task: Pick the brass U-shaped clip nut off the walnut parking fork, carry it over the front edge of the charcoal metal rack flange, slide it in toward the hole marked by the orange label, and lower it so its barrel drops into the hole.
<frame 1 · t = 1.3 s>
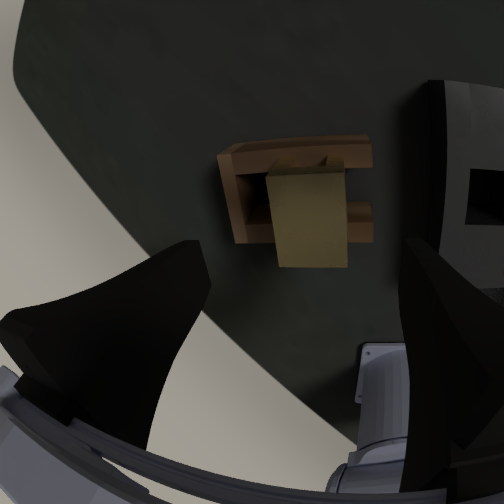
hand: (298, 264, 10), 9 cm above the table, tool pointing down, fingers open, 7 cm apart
clip nut: (315, 198, 15), in the parking fork
parking fork: (320, 179, 18), on the table
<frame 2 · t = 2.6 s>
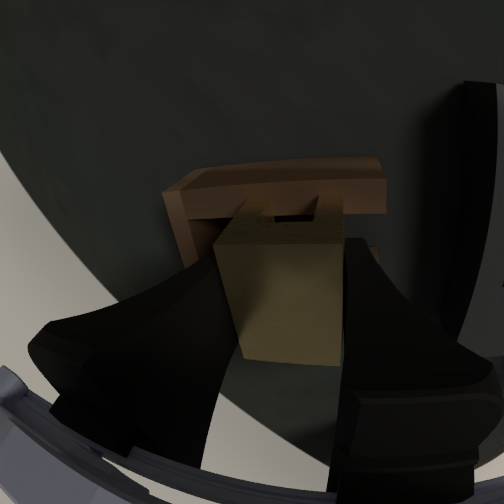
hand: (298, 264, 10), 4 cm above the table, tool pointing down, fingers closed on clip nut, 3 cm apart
clip nut: (300, 256, 11), in the parking fork, touching gripper
parking fork: (310, 217, 13), on the table
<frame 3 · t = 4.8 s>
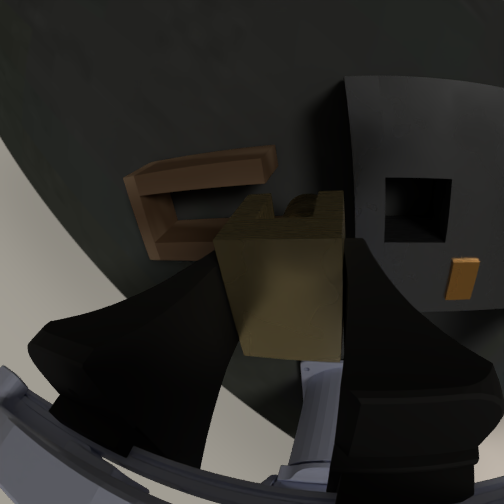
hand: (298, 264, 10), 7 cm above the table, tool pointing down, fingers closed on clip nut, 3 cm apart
rack: (491, 192, 13), on the table
clip nut: (300, 252, 11), point 7 cm above the table, touching gripper
parking fork: (231, 194, 18), on the table
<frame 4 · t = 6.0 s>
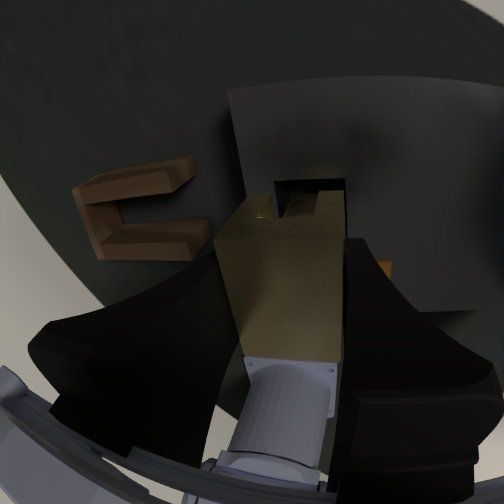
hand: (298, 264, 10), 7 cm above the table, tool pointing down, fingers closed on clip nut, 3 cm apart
rack: (415, 189, 15), on the table
clip nut: (300, 252, 11), point 7 cm above the table, touching gripper
parking fork: (162, 201, 19), on the table
when the fingers open (5 cm above the table, at t = 7.1 s): clip nut stays where it is, resting on rack.
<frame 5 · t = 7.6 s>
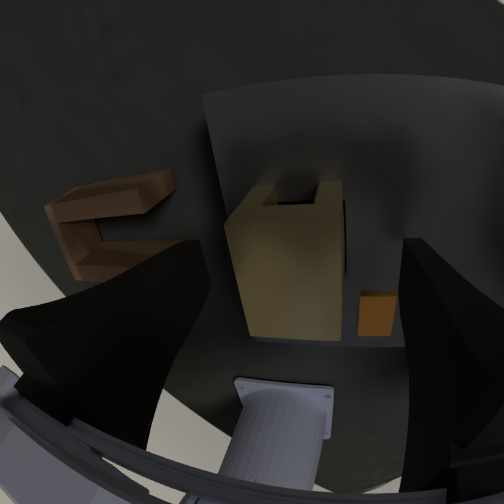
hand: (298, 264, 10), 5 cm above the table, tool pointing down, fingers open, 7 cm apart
rack: (426, 208, 12), on the table
clip nut: (302, 240, 12), resting on rack
parking fork: (140, 218, 17), on the table
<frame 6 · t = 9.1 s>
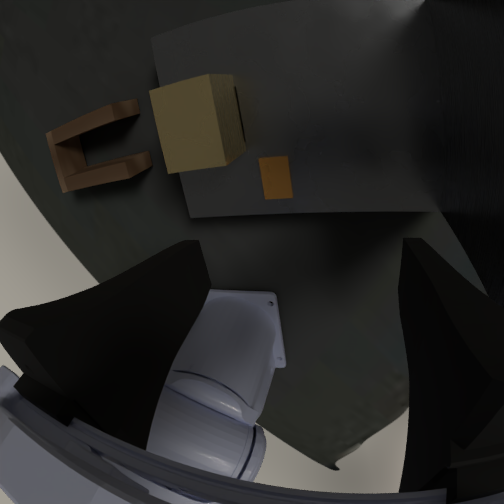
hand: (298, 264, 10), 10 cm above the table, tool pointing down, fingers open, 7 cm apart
rack: (317, 102, 17), on the table
clip nut: (211, 117, 16), resting on rack
parking fork: (115, 140, 21), on the table
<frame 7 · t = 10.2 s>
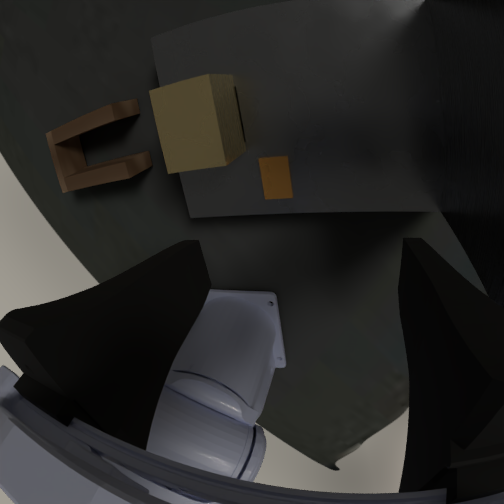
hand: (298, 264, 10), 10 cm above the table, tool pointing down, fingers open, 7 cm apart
rack: (317, 102, 17), on the table
clip nut: (211, 117, 16), resting on rack
parking fork: (115, 140, 21), on the table
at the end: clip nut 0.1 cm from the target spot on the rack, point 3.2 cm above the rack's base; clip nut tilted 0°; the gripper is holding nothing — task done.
